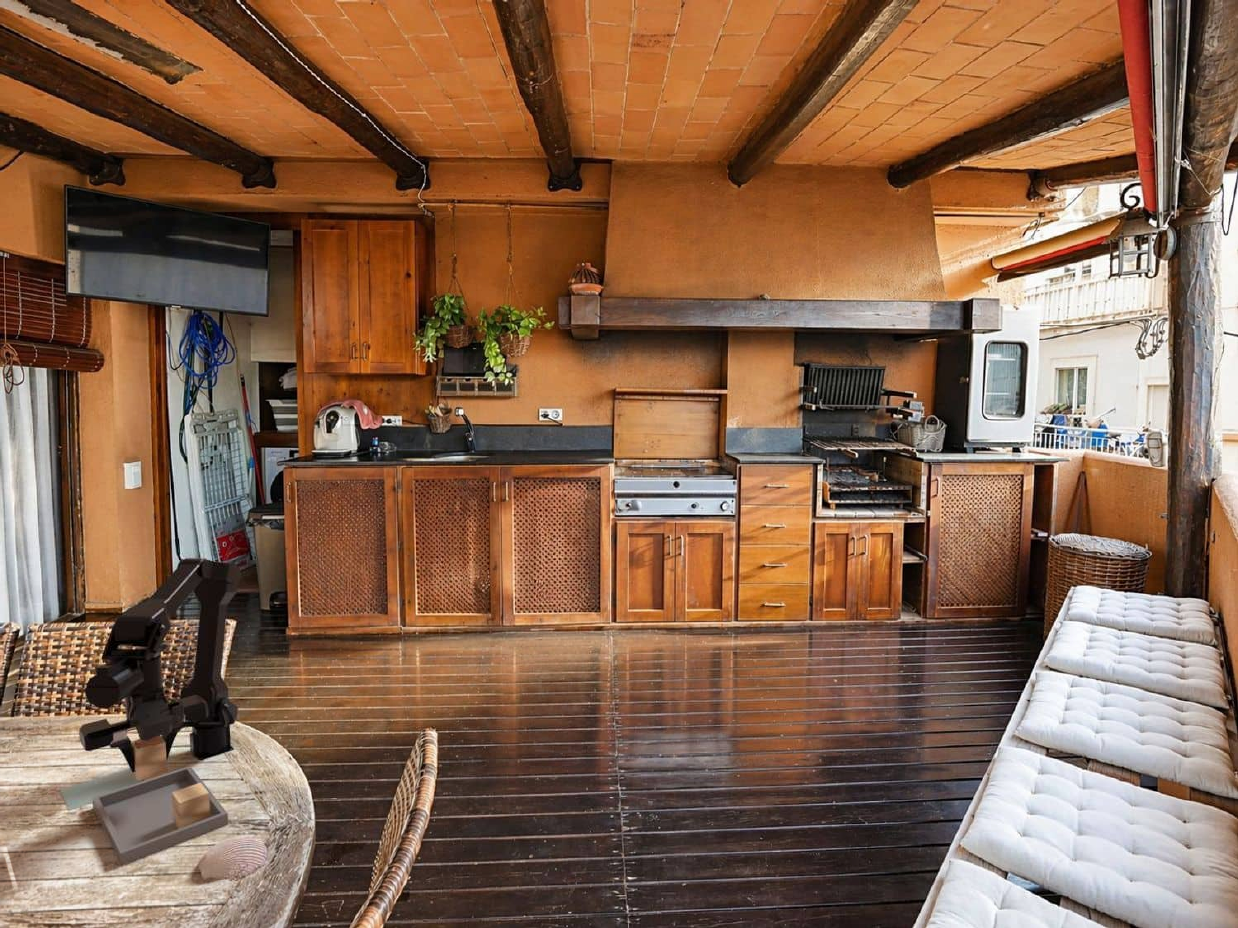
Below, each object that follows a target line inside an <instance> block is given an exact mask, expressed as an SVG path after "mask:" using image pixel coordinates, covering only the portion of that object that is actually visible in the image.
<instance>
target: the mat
mask: <svg viewBox="0 0 1238 928" xmlns="http://www.w3.org/2000/svg"><path fill="white" fill-rule="evenodd" d="M142 781H145V779H142V780H139V781H138V780H137V779H136V777H135V775H134V774H133V773H132V771H131V769H130V767H129V768H126V769H123V770H120V771H117V772H113V773H110V774H107V775H104V776H100V777H97V778H95V779H91V780H87V781H84V782H82V783H77V784H75V785H71V786H68V787H65V788H62V789H60V790H59V792H60V794H61V796H62V798H63V800H64V803H65V805H66V807H67V810H68V811H73V810H76V809H78V808H81V807H85V806H87V805H90V804H93V799H92V798H93V797H96V796H99V795H102V794H105V793H108V792H111V791H115V790H118V789H121V788H124V787H127V786H130V785H133V784H136V783H139V782H142Z"/></svg>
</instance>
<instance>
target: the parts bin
mask: <svg viewBox="0 0 1238 928" xmlns="http://www.w3.org/2000/svg"><path fill="white" fill-rule="evenodd" d="M198 783H202V785H203V786H204V787H205V789H206V790H207V791H208V792H209V805H210V818H207V819H204V820H202V821H199V822H196V823H194V824H191V825H188V826H186V827H183V828H180V829H178V828H177V827H176V825H175V824H174V819H173V803H172V792H175V791H178V790H180V789H183V788H186V787H189V786H192V785H195V784H198ZM92 799H93V803H92V810H93V811H94V814H95V815H96V817H97V819H98V821H99V823H100V825H101V828H102V829H103V831H104V833H105V836H106V838H107V840H108V841H109V843H110V846H111V848H112V850H113V852H114V854H115V855H116V858H117V860H118V862H119V864H120V865H121V866H122V867H123V866H124V865H125V866H126V865H128V864H129V863H132V862H135V861H137V860H140V859H143V858H145V857H148V856H150V855H154V854H155V853H159V852H161V851H163V850H166V849H168V848H171V847H173V846H174V847H175V846H176V845H179V844H181V843H184V842H186V841H190V840H191V839H194V838H196V837H200V836H201V835H204V834H207V833H210V832H212V831H214V830H217V829H220V828H223V827H226V826H228V825H229V813H228V811H226V809H225V808H224V807H223V805H222V804H221V803H220V801H219V800H218V799H217V798H216V796H215V795H214V794H213V793H212V791H211V790H210V789H209V788H208V787H207V785H206V784H205V782H204V781H203V780H202V779H201V778H200V776H199V775H198V774H197V773H196V771H195V770H194V769H193V767H192V766H191V765H190V766H189V765H188V766H186V767H182V768H180V769H176V770H173V771H170V772H168V773H167V772H166V773H164V774H161V775H158V776H155V777H152V778H151V777H150V778H149V779H146V780H145V779H144V781H142V782H139V783H136V784H133V785H130V786H127V787H124V788H121V789H118V790H115V791H111V792H108V793H105V794H102V795H99V796H96V797H93V798H92Z"/></svg>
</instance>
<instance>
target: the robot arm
mask: <svg viewBox="0 0 1238 928" xmlns="http://www.w3.org/2000/svg"><path fill="white" fill-rule="evenodd" d="M241 571H242V570H241V568H240V567H238V565H237V564H236V562H234V561H215V560H214V561H213V560H210V559H207V558H205V557H204V558H203V557H200V558H199V557H198V558H197V557H195V558H194V557H190V558H189V557H186V558H184V559H180V560H179V562H178V564H177V567H176V569H175V570H174V571H173V572H172V573H171V574H170V575H169V576H168V577H167V578H166V579H165V581H163V583H162V584H161V585H160V586H159V587H158V588H157V589H156V590H155V591H154V593H152V595H151V596H150V597H149V598H147V599H146V601H144V602H141V603H139V604H137V605H136V604H135V605H134V606H131V607H130V608H128V609H127V610H126V611H124V612H123V613H122V614H120V615H119V616H118V617H117V618H116V620H115V622H114V623H113V625H112V627H111V630H110V633H109V635H108V639H107V641H106V645H105V647H104V650H103V652H102V654H101V659H100V660H101V661H108V662H107V663H105V664H101V665H99V666H97V667H96V668H95V673H96V675H94V676H91V678H90V679H88V681H87V683H86V686H85V687H84V694H85V697H86V699H87V701H88V702H89V703H90V704H91V705H92V706H94V707H96V708H99V709H108V708H111V707H113V706H114V705H116V704H119V702H121V701H124V702H125V704H124V705H125V716H126V717H125V718H126V720H122V721H119V722H115V723H110V722H109V721H108V719H107V718H103V719H99V720H97V721H92V722H88V723H85V724H82V725H81V726H80V728H79V730H78V736H79V737H78V738H79V742H80V744H81V745H82V747H83V749H84V751H85V752H92V751H95V750H99V749H102V748H106V747H109V748H110V749H116V748H118V749H119V750H120V752H121V753H122V756H123V758H124V760H125V761H126V763H127V764H128V767H129V768H130V769H131V771H132V773H134V772H135V762H134V757H133V753H132V748H131V741H132V740H131V739H130V737H129V736H128V732H131V731H134V730H136V732H137V735H138V738H139V739H141V740H150V739H151V738H153V737H157V736H161V737H162V738H163V740H164V741H165V744H166V760H167V761H168V758H169V756H170V753H171V751H172V746H173V744H174V742H175V739H176V737H177V735H178V733H179V732H180V731H181V730H182V729H185V728H186V729H187V728H191V729H192V732H190V733H189V748H190V750H189V751H190V753H191V754H192V756H193V757H195V758H197V759H198V760H199V761H204V760H207V759H209V758H213V757H216V756H219V755H222V754H225V753H228V752H233V750H235V748H234V747H233V746H232V742H231V725H234V724H235V723H236V719H237V717H238V710H239V709H238V706H237V705H236V704H234V703H233V702H232V701H231V700H230V699H229V688H228V686H227V684H226V682H225V681H224V679H223V677H222V667H223V666H222V665H223V656H224V644H225V634H226V624H227V623H226V622H227V613H228V605H229V603H230V602H231V600H233V598H234V597H235V595H236V594H237V592H238V590H239V589H238V588H239V582H240V581H241V577H242V572H241ZM192 593H194V594H193V595H194V596H195V597H196V599H197V601H198V603H199V605H200V607H199V618H198V626H197V629H198V630H197V639H196V647H195V648H196V649H195V656H194V657H195V658H194V668H193V676H192V679H191V680H190V682H188V684H187V686H183V687H182V688H181V690H180V698H179V699H176V701H173V702H172V701H169V702H168V701H167V699H166V694H165V689H164V682H163V681H164V680H163V666H162V652H164V651H166V650H167V649H168V645H167V644H165V643H164V642H163V641H165V640H164V639H165V638H166V636H167V635H168V634H169V632H170V630H171V628H172V622H171V618H172V617H173V616H174V614H175V613H176V612H177V611H178V609H179V608H180V607H181V606H182V605H183V603H184V602H185V601H186V600H187V598H189V597H190V595H191V594H192ZM119 647H125V648H119ZM126 647H127V648H126ZM128 647H129V648H128ZM130 647H131V648H130ZM132 647H133V648H132ZM134 647H135V648H134ZM136 647H137V648H136Z"/></svg>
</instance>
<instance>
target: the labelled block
mask: <svg viewBox="0 0 1238 928" xmlns="http://www.w3.org/2000/svg"><path fill="white" fill-rule="evenodd" d="M131 748H132V753H133V757H134V762H135V772H134V773H133V774H134V775H135V777H136V779H137V780H138V781H139V780H142V779H144V780H145V779H147V778H151V777H154V776H157V775H160V774H161V775H162V774H163V773H164V774H165V773H167V772H168V762H167V761H168V759H167V760H166V744H165V741H164V740H163V738H162V737H161V735H160V736H157V737H153V738H151V739H150V740H141V739H140V738H139V739H135V740H131Z"/></svg>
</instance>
